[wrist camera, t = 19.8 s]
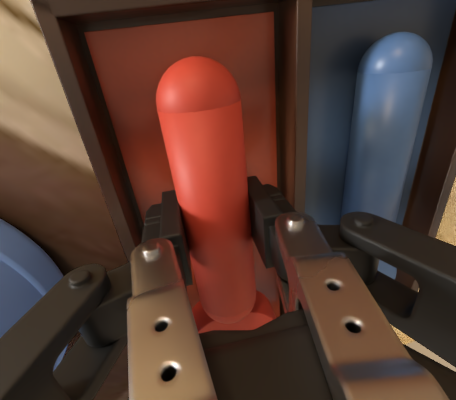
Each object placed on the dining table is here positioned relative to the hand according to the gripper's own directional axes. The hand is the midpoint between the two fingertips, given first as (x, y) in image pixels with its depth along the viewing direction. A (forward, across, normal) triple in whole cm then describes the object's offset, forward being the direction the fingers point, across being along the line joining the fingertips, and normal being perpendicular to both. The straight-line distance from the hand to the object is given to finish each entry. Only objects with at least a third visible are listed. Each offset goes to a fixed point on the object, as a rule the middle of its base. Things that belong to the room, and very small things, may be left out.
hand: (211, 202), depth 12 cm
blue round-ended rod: (+2, -9, +3) cm, 9 cm away
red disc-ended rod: (0, 0, +3) cm, 3 cm away
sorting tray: (+3, -4, +2) cm, 6 cm away
